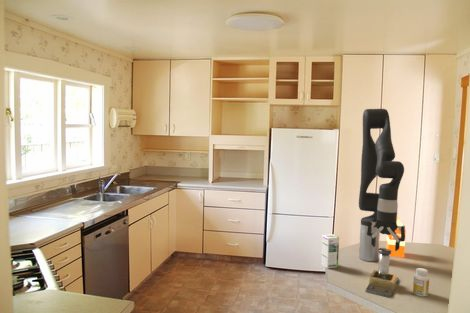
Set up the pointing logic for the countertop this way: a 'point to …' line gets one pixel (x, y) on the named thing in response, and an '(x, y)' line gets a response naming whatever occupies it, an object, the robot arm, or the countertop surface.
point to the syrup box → (330, 251)
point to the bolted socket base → (381, 284)
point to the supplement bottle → (421, 282)
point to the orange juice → (392, 241)
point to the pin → (383, 263)
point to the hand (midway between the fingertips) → (384, 248)
